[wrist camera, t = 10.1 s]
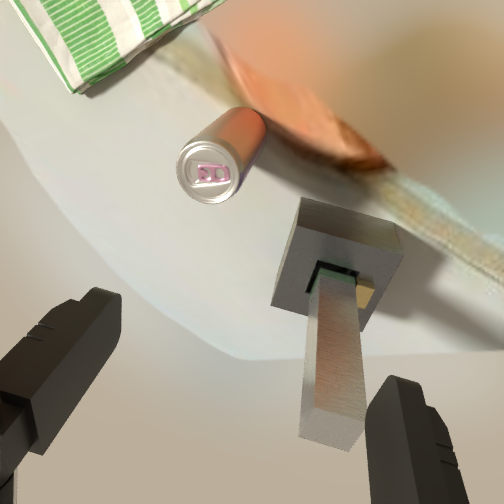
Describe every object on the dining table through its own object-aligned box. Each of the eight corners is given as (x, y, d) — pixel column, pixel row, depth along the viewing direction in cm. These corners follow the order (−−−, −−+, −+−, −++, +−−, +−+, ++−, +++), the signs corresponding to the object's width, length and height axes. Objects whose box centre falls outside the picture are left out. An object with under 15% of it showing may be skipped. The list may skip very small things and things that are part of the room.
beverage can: (267, 157, 44) (242, 208, 32) (220, 156, 45) (178, 205, 33) (267, 105, 41) (239, 139, 29) (216, 105, 42) (168, 138, 30)
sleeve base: (393, 222, 46) (405, 261, 38) (358, 293, 52) (362, 338, 45) (301, 196, 46) (295, 230, 38) (278, 270, 53) (269, 311, 45)
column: (354, 277, 41) (368, 423, 26) (342, 303, 43) (348, 452, 28) (320, 267, 41) (313, 406, 26) (309, 294, 43) (298, 436, 28)
